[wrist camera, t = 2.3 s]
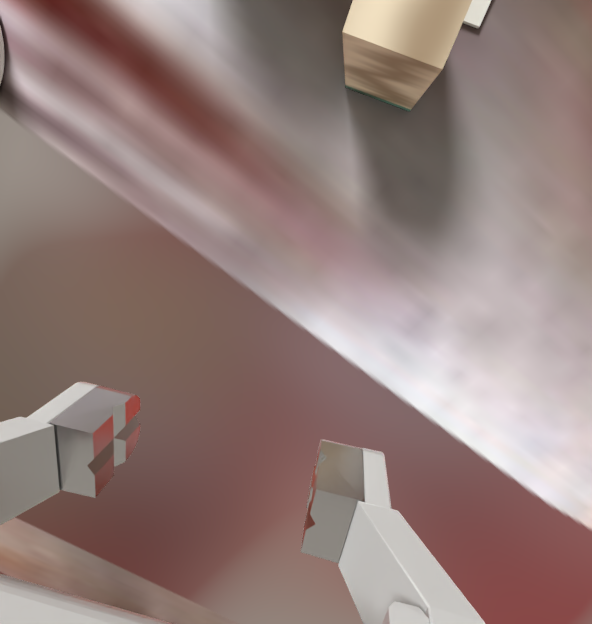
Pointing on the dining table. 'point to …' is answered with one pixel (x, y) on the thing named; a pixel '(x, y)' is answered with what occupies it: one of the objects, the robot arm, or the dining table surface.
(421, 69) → the beech block
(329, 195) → the dining table surface
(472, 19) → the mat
